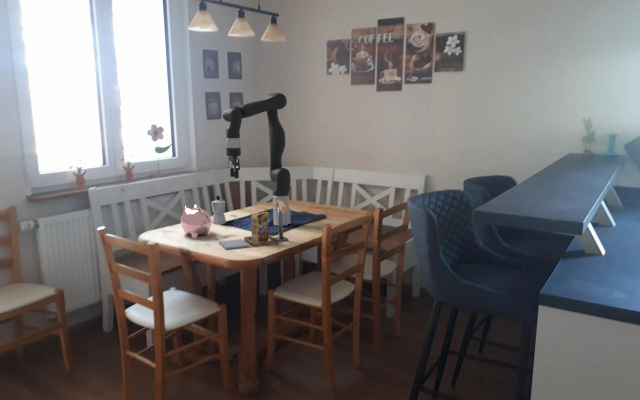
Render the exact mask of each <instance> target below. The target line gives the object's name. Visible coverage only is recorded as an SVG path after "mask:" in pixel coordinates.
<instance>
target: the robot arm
mask: <svg viewBox="0 0 640 400" xmlns="http://www.w3.org/2000/svg"><path fill="white" fill-rule="evenodd" d="M287 101H288V100H287V97H286V96H285V94H284V93H281V92H274V93H272V92H271V93H268V94H266V96H265V99H262V100H257V101H251V102H248V103H245V104H242V105H239V106H233V107H228V108H226V109H225V110H224V111H223V112H222V119H223V120H224V121H225V122H228V123H229V126H228V127H226V129H225V130H226V131H225V137H226V141H225V146H226V147H225V148H226V149H225V150H226V156H227V157H228V158H227V159H228V169H229V174H230V175H229V176H230V178H234V179H236V180H237V179H239V178H240V175H239V174H240V173H239V172H240V170H241V166H240V165H241V164H240V158H238V157H241V156H242V148H241V146H242V145H241V132H240V130H241V125H242V121H243V119H247V118H250V117H254V116H256V115H259V114H262V113H265V112H266V116H267V125H268V126H267V128H268V143H269V155H270V156H269V159H270V161H269V162H270V163H269V166H270V167H269V177H270V180H271V181H272V182H273V183H275V184H276V188H275V189H274V190H272V208H273V210H272V213H273V215H272V216H273V218H272V219H273V225H274V226H278V207H277V200H283V203H284V204H285V206H286V213H283V227H284V225H285V226H289V225H288V224H290V225H291V224H292V223H291V219H292V218H291V208H290V191H291V173H290V170H289V169H288V168H286V167H283V166H282V165H283V164H282V158H283V154H284V151H285V148H286V132H285V130H284V128H283V127H284V126H283V125H282V124H281V122H280V120H279V111H278V110H283V109H284V108H286V106H287Z"/></svg>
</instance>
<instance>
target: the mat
mask: <svg viewBox="0 0 640 400" xmlns="http://www.w3.org/2000/svg"><path fill="white" fill-rule="evenodd" d="M218 244H219V245H220V246H221V247H222V249H224V250H226V251H227V250H237V249H244V248H250V245H249V244H248V243H246V242H245V241H244V239H241V238H240V239H230V240H222V241H221V240H220V241H218Z"/></svg>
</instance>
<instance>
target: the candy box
mask: <svg viewBox="0 0 640 400" xmlns="http://www.w3.org/2000/svg"><path fill="white" fill-rule="evenodd" d="M268 235H269V212H267V211H261V212H256V213H252V214H251V236H252V240H251V241H252V242H260V241H269V238H268Z"/></svg>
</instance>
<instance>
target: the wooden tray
mask: <svg viewBox="0 0 640 400" xmlns="http://www.w3.org/2000/svg"><path fill="white" fill-rule="evenodd" d="M243 238H244V239H243V240H244V241H245V242H246V243H247V244H248V245H249V247H251V248H252V247H253V248H254V247H261V246H270V245H278V243H279V242H278V241H277V239H275V238H276V237H274V236H272V235H270V234H268V241H260V242H252V235H251V236H243Z"/></svg>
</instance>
